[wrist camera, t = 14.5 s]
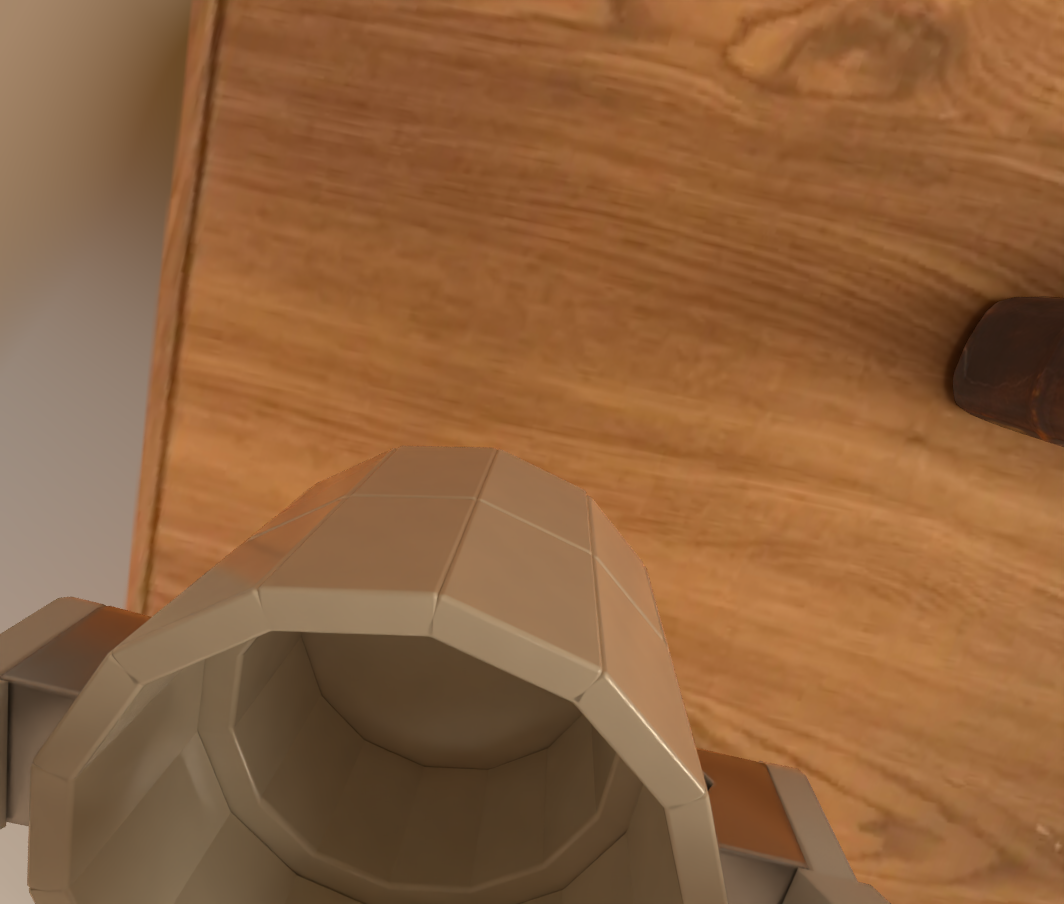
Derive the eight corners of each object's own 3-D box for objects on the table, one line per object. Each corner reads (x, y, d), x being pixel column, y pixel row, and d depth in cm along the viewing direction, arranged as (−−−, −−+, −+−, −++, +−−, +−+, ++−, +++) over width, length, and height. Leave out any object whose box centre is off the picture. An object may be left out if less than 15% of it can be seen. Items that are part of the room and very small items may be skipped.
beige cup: (248, 740, 12) (20, 1073, 7) (296, 389, 10) (34, 498, 5) (594, 821, 12) (615, 1210, 7) (704, 488, 10) (836, 689, 5)
